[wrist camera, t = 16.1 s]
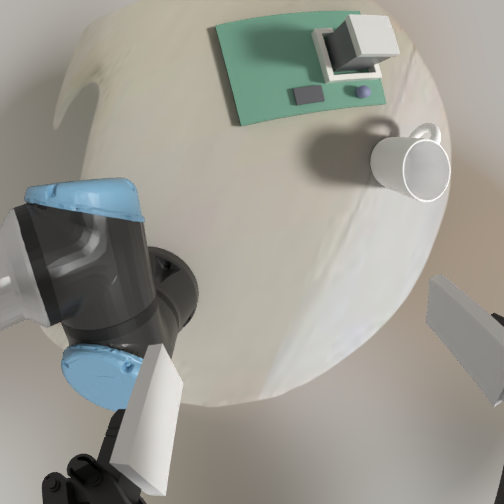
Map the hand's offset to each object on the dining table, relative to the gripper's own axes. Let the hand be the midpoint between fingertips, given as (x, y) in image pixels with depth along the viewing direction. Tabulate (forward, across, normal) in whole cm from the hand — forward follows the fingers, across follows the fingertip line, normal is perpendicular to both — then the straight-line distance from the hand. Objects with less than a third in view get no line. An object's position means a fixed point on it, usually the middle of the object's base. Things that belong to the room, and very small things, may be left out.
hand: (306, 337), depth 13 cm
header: (+31, +17, +19) cm, 40 cm away
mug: (+32, +23, +3) cm, 39 cm away
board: (+32, +11, +19) cm, 39 cm away
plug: (+30, +17, +19) cm, 40 cm away
